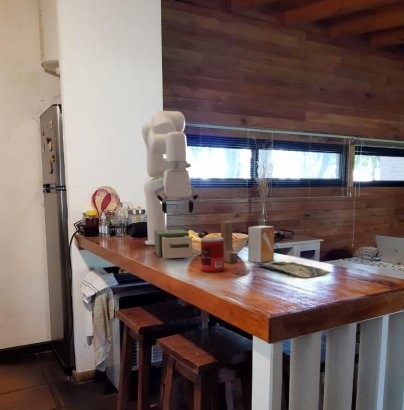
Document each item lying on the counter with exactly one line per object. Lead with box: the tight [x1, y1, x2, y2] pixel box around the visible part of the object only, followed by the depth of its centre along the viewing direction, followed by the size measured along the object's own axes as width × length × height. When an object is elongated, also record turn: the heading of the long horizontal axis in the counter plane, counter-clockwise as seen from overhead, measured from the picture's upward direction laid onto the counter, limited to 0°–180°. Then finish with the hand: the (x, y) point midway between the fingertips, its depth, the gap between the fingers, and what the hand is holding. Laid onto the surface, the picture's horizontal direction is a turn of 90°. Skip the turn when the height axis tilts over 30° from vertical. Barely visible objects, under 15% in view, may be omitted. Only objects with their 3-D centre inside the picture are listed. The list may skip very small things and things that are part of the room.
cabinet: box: [154, 228, 190, 258], centre depth 179 cm, size 15×13×10 cm
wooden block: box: [220, 220, 238, 264], centre depth 158 cm, size 7×3×15 cm, turn 29°
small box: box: [247, 225, 275, 264], centre depth 159 cm, size 8×6×13 cm
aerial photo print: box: [256, 261, 329, 278], centre depth 142 cm, size 25×19×2 cm
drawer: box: [160, 235, 193, 259], centre depth 167 cm, size 19×11×8 cm, turn 13°
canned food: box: [200, 236, 225, 273], centre depth 142 cm, size 8×8×11 cm
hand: (177, 212), depth 159 cm, fingers open, 9 cm apart
